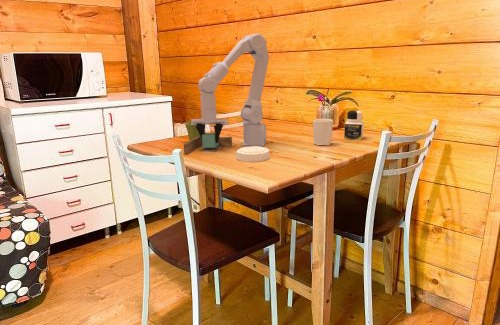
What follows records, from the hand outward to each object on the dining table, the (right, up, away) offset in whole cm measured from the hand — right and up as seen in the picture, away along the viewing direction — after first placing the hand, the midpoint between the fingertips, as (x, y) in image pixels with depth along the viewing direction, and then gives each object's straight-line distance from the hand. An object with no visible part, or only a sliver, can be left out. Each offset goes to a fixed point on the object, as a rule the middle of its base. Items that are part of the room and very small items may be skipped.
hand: (210, 142), depth 152 cm
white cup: (+46, -1, +3) cm, 46 cm away
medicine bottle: (+61, +2, +13) cm, 63 cm away
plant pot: (-8, +1, +16) cm, 18 cm away
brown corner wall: (0, -3, -1) cm, 3 cm away
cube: (0, -2, 0) cm, 2 cm away
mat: (0, -3, +1) cm, 3 cm away
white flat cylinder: (+17, -7, -15) cm, 24 cm away
